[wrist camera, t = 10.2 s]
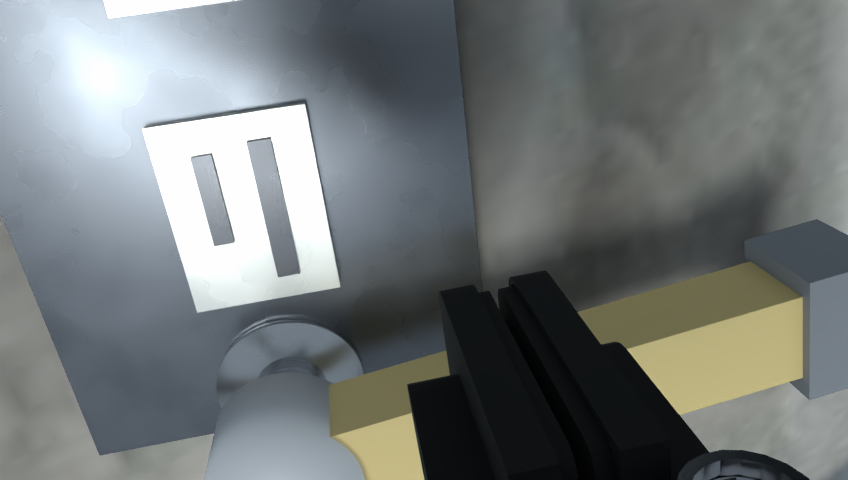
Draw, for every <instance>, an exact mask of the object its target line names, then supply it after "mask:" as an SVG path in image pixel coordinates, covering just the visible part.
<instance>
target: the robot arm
mask: <svg viewBox="0 0 848 480" xmlns="http://www.w3.org/2000/svg"><path fill="white" fill-rule="evenodd" d="M438 295H439V304H440V311H441V318H442V325H443V332H444V339H445V345H446V352H447V359H448V366H449V373H450V375H449V376H444V377H439V378H435V379H430V380H425V381H420V382H415V383H410V384H407V388H408V394H409V400H410V405H411V411H412V416H413V422H414V427H415V433H416V438H417V444H418V449H419V454H420V459H421V464H422V469H423V475H424V479H425V480H810V479H809V478H808V477H806V476H805V475H803V474H802V473H800V472H799V471H797V470H796V469H794V468H793V467H791V466H790V465H788V464H786V463H784V462H782V461H779V460H777V459H774V458H772V457H769V456H767V455H764V454H759V453H754V452H749V451H745V450H719V451H714V452H710V453H709V452H708V450H707V449H706V448H705V447H704V445H703V444H702V443H701V441H700V440H699V439H698V438H697V436H696V435H695V434H694V433H693V431H692V430H691V429H690V428H689V426H688V425H687V424H686V423H685V421H684V420H683V419H682V418H681V416H680V415H679V414H678V413H677V411H676V410H675V409H674V408H673V406H672V405H671V404H670V403H669V401H668V400H667V399H666V398H665V396H664V395H663V394H662V393H661V391H660V390H659V389H658V388H657V386H656V385H655V384H654V383H653V381H652V380H651V379H650V378H649V376H648V375H647V374H646V373H645V371H644V370H643V369H642V368H641V366H640V365H639V364H638V363H637V361H636V360H635V359H634V358H633V356H632V355H631V354H630V353H629V351H628V350H627V349H626V348H625V347H624V346H623V345H622V344H621V343H619V342H611V343H606V344H600V342H599V341H598V340H597V338H596V337H595V336H594V334H593V333H592V331H591V330H590V329H589V327H588V326H587V325H586V323H585V322H584V321H583V319H582V318H581V317H580V315H579V314H578V313H577V311H576V310H575V309H574V307H573V306H572V305H571V303H570V302H569V300H568V299H567V298H566V296H565V295H564V294H563V292H562V291H561V290H560V288H559V287H558V286H557V284H556V283H555V282H554V280H553V279H552V278H551V276H550V275H549V274H548V272H546V271H540V272H535V273H530V274H525V275H520V276H514V277H510V279H509V287H506V288H501V289H499V290H498V300H499V308H498V307H497V305H496V303H495V301H494V299H493V297H492V295H491V293H490V292H489V291H486V292H480V293H478V292H477V289H476V287H475V286H474V285H468V286H463V287H458V288H453V289H447V290H442V291H439V293H438Z"/></svg>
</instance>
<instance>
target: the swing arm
mask: <svg viewBox="0 0 848 480" xmlns="http://www.w3.org/2000/svg"><path fill="white" fill-rule="evenodd" d="M744 248H745V263H743V264H739V265H736V266H733V267H729V268H726V269H722V270H719V271H716V272H712V273H709V274H705V275H702V276H698V277H695V278H692V279H688V280H685V281H681V282H678V283H675V284H671V285H668V286H664V287H661V288H658V289H654V290H651V291H647V292H644V293H640V294H637V295H634V296H630V297H627V298H623V299H620V300H617V301H613V302H610V303H606V304H603V305H600V306H596V307H593V308H589V309H586V310H582V311H579V312H577V313H578V314H579V315H580V317H581V318H582V319H583V321H584V322H585V323H586V325H587V326H588V327H589V329H590V330H591V331H592V333H593V334H594V336H595V337H596V338H597V340H598V341H599V342H600V344H606V343H611V342H619V343H621V344H622V345H623V346H624V347H625V348H626V349H627V350H628V351H629V353H630V354H631V355H632V356H633V358H634V359H635V360H636V361H637V363H638V364H639V365H640V366H641V368H642V369H643V370H644V371H645V373H646V374H647V375H648V376H649V378H650V379H651V380H652V381H653V383H654V384H655V385H656V386H657V388H658V389H659V390H660V391H661V393H662V394H663V395H664V396H665V398H666V399H667V400H668V401H669V403H670V404H671V405H672V406H673V408H674V409H675V410H676V411H677V413H678V414H679V415H681V414H684V413H688V412H691V411H694V410H698V409H701V408H704V407H708V406H711V405H714V404H717V403H721V402H724V401H727V400H731V399H734V398H737V397H741V396H744V395H747V394H751V393H754V392H757V391H761V390H764V389H767V388H770V387H774V386H777V385H780V384H784V383H787V382H790V383H791V384H792V385H793V386H794V387H795V388H797V389H798V390H799V391H800V392H801V393H802V394H803V395H804V396H806V397H807V398H808V399H809V400H811V399H814V398H818V397H821V396H824V395H827V394H831V393H834V392H837V391H841V390H844V389H847V388H848V235H846V234H844V233H842V232H841V231H839V230H837V229H835V228H833V227H831V226H829V225H827V224H825V223H823V222H821V221H819V220H817V219H816V220H812V221H809V222H806V223H802V224H799V225H795V226H792V227H788V228H785V229H782V230H778V231H775V232H771V233H768V234H764V235H761V236H758V237H754V238H751V239H747V240H744ZM449 375H450V373H449V366H448V359H447V352H446V351H443V352H439V353H436V354H432V355H429V356H426V357H422V358H419V359H415V360H412V361H408V362H405V363H402V364H398V365H395V366H391V367H388V368H385V369H381V370H378V371H374V372H371V373H368V374H364V375H361V376H357V377H354V378H350V379H347V380H344V381H340V382H337V383H331V382H329V381H327V380H325V379H323V378H320V377H317V376H314V375H310V374H305V373H296V372H284V373H276V374H271V375H267V376H264V377H261V378H258V379H256V380H253V381H251V382H249V383H247V384H246V385H244V386H243V387H241V388H240V389H239V390H237V391H236V392H235V393H234V394H233V395H232V396H231V397H230V398H229V399H228V400H227V402H226V403H225V405H224V406H223V407H222V410H221V412H220V414H219V416H218V420H217V423H216V428H215V432H214V437H213V442H212V446H211V451H210V456H209V460H208V465H207V470H206V474H205V479H204V480H425V479H424V475H423V469H422V464H421V459H420V454H419V449H418V444H417V438H416V433H415V427H414V422H413V416H412V411H411V405H410V400H409V394H408V388H407V384H410V383H415V382H420V381H425V380H430V379H435V378H439V377H444V376H449Z"/></svg>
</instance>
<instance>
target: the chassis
mask: <svg viewBox="0 0 848 480" xmlns="http://www.w3.org/2000/svg"><path fill="white" fill-rule="evenodd" d="M0 213H1V216H2V218H3V220H4V223H5V225H6V228H7V230H8V233H9V235H10V238H11V240H12V242H13V245H14V247H15V250H16V252H17V255H18V257H19V260H20V262H21V264H22V267H23V269H24V272H25V274H26V277H27V279H28V281H29V284H30V286H31V289H32V291H33V294H34V296H35V299H36V301H37V303H38V306H39V308H40V311H41V313H42V316H43V318H44V321H45V323H46V325H47V328H48V330H49V333H50V335H51V338H52V340H53V342H54V345H55V347H56V350H57V352H58V355H59V357H60V360H61V362H62V364H63V367H64V369H65V372H66V374H67V377H68V379H69V382H70V384H71V386H72V389H73V391H74V394H75V396H76V399H77V401H78V403H79V406H80V408H81V411H82V413H83V416H84V418H85V421H86V423H87V425H88V428H89V430H90V433H91V435H92V438H93V440H94V443H95V445H96V447H97V450H98V452H99V455H104V454H109V453H115V452H120V451H125V450H130V449H135V448H140V447H145V446H151V445H156V444H161V443H166V442H171V441H176V440H182V439H187V438H192V437H197V436H202V435H207V434H212V433H214V432H215V428H216V423H217V420H218V416H219V414H220V412H221V410H222V407H223V406H224V405H225V403H226V402H227V400H228V399H229V398H230V397H231V396H232V395H233V394H234V393H235V392H236V391H237V390H239V389H240V388H241V387H243V386H244V385H246V384H247V383H249V382H251V381H253V380H256V379H258V378H261V377H264V376H267V375H271V374H276V373H284V372H296V373H305V374H310V375H314V376H317V377H320V378H323V379H325V380H327V381H329V382H331V383H337V382H340V381H344V380H347V379H350V378H354V377H357V376H361V375H364V374H368V373H371V372H374V371H378V370H381V369H385V368H388V367H391V366H395V365H398V364H402V363H405V362H408V361H412V360H415V359H419V358H422V357H426V356H429V355H432V354H436V353H439V352H443V351H446V345H445V339H444V332H443V325H442V318H441V311H440V304H439V295H438V293H439V291H442V290H447V289H453V288H458V287H463V286H468V285H474V286H475V287H476V289H477V292H478V293H480V292H482V285H481V275H480V265H479V255H478V244H477V234H476V224H475V214H474V204H473V194H472V183H471V173H470V163H469V153H468V143H467V132H466V122H465V112H464V102H463V92H462V81H461V71H460V61H459V51H458V41H457V30H456V20H455V10H454V0H0Z"/></svg>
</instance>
